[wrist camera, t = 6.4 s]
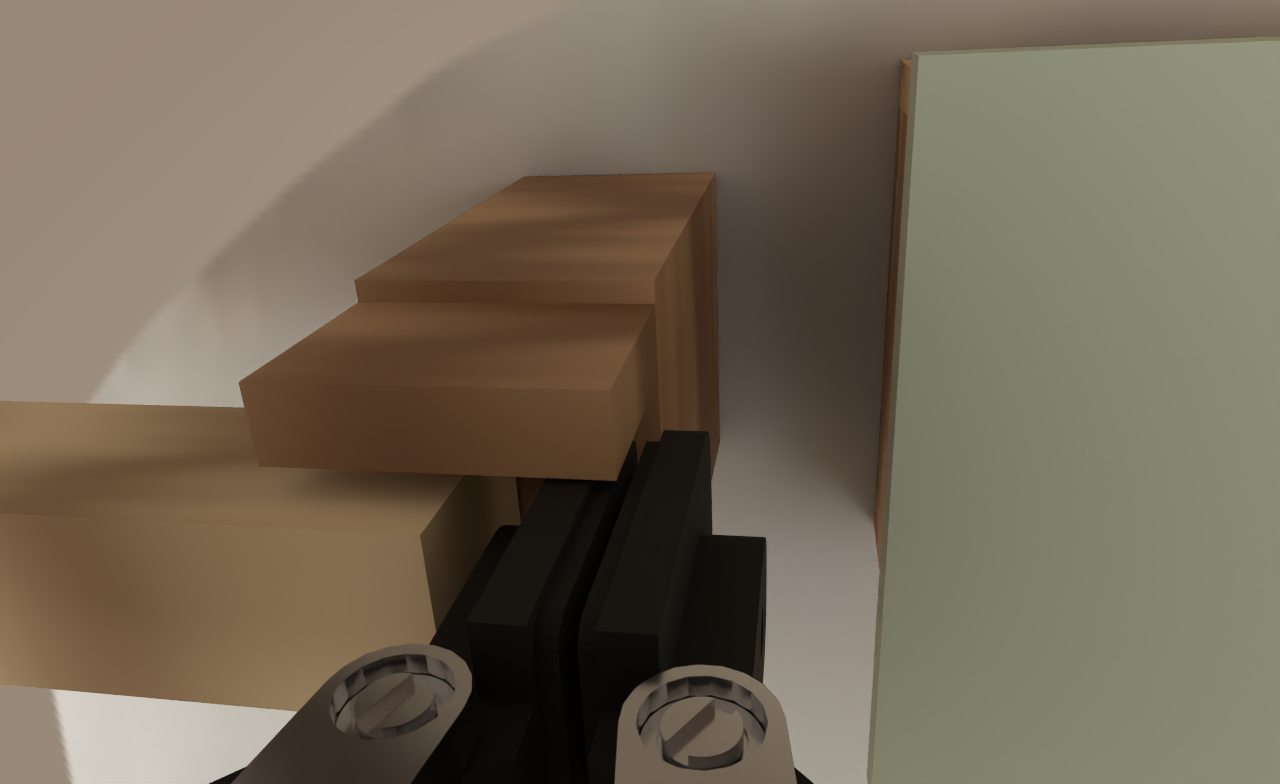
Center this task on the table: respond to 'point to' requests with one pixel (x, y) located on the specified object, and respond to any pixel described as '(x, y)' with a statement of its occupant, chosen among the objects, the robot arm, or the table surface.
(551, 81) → the table surface
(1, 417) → the key
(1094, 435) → the lid
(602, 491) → the robot arm
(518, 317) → the brown wooden open box
